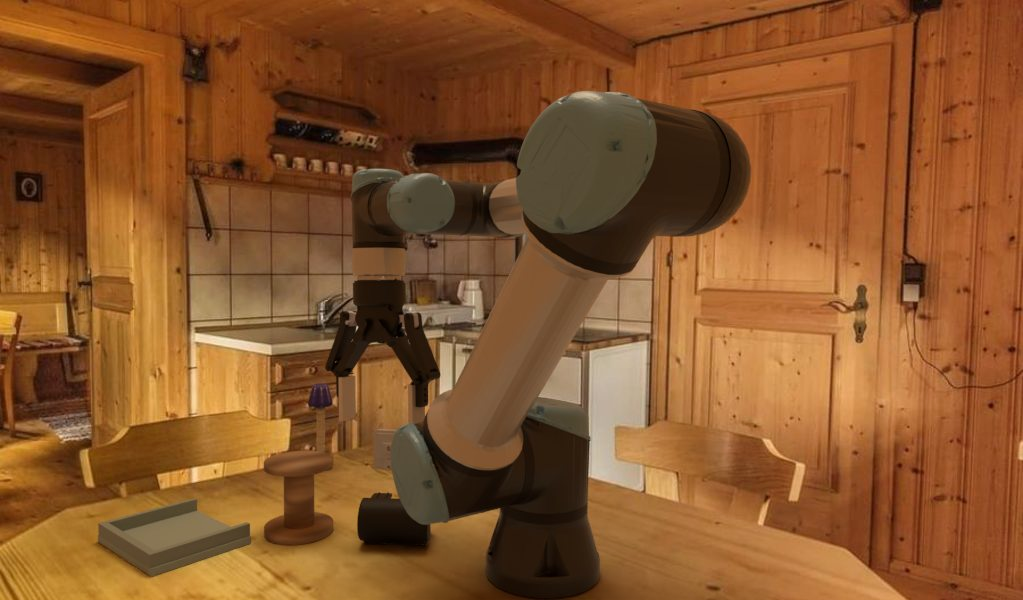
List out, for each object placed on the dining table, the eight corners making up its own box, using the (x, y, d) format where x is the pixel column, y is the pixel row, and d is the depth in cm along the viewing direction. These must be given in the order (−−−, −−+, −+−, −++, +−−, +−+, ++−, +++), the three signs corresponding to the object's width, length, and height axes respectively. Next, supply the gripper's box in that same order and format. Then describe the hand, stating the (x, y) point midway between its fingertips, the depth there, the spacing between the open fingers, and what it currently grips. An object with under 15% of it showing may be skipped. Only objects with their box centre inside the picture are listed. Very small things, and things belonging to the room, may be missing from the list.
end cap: (356, 552, 98) (356, 505, 97) (368, 532, 105) (368, 488, 105) (427, 554, 98) (427, 506, 97) (434, 534, 105) (434, 490, 104)
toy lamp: (335, 470, 135) (335, 385, 134) (311, 473, 133) (311, 387, 132) (328, 463, 139) (328, 381, 138) (305, 467, 137) (304, 383, 136)
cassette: (372, 469, 136) (372, 430, 136) (375, 466, 138) (375, 428, 138) (433, 471, 136) (433, 432, 135) (434, 468, 137) (435, 430, 137)
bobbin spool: (347, 530, 105) (347, 459, 105) (289, 551, 98) (288, 474, 97) (307, 514, 112) (307, 447, 111) (250, 532, 104) (250, 460, 103)
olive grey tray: (251, 543, 100) (251, 524, 100) (151, 576, 89) (150, 555, 89) (193, 514, 111) (193, 497, 111) (97, 541, 100) (97, 522, 100)
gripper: (464, 278, 97) (465, 429, 97) (337, 278, 110) (339, 411, 111) (430, 278, 90) (431, 439, 91) (300, 279, 104) (302, 419, 104)
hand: (380, 424), depth 101 cm, fingers open, 13 cm apart
